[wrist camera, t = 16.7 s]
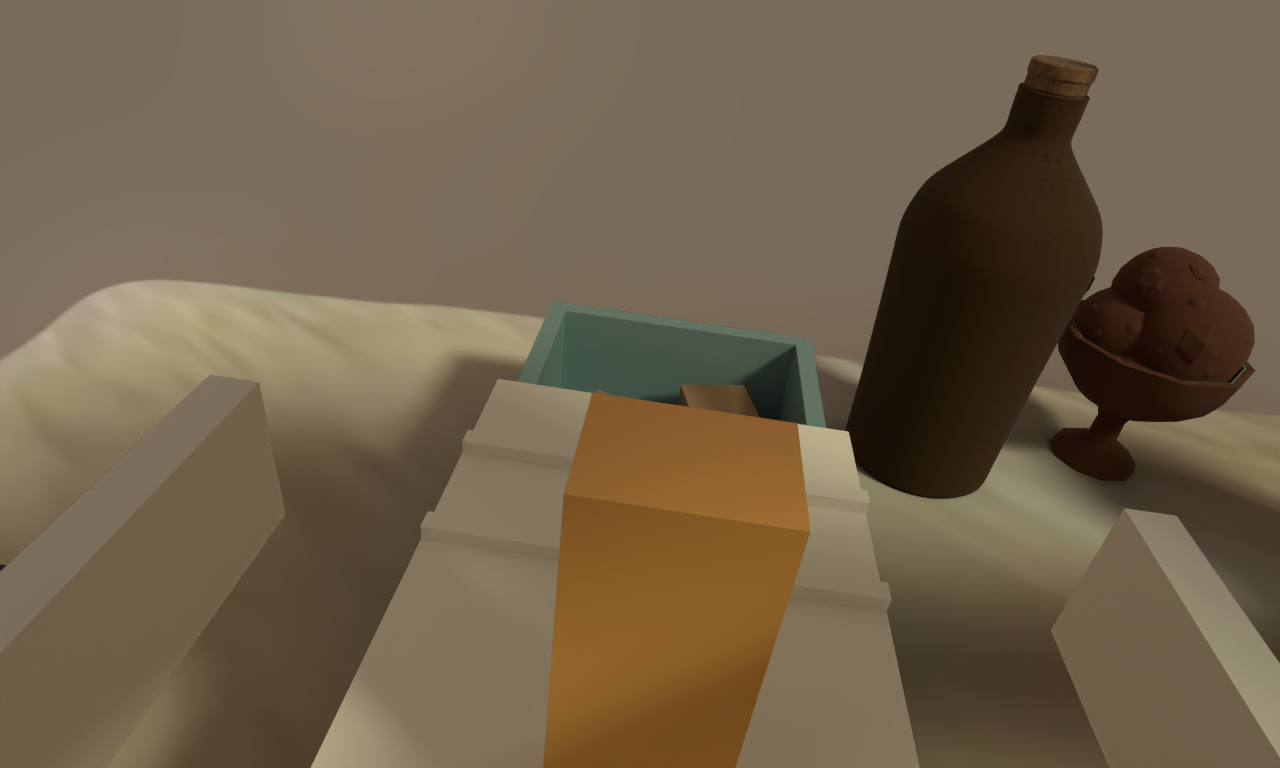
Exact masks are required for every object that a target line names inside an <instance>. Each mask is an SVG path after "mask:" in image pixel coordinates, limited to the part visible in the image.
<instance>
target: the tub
mask: <svg viewBox="0 0 1280 768" xmlns="http://www.w3.org/2000/svg"><path fill="white" fill-rule="evenodd" d="M517 382H523V383H529V384H536V385H542V386H549V387H556V388H562V389H569V390H576V391H582V392H589V393H592V392H593V393H596V392H597V391H598V390H602V391H604V392H607V393H610V394H612V395H615V396H619V397H626V398H633V399H639V400H646V401H653V402H659V403H666V404H673V405H678V399H679V394H680V388H681V385H744V386H745V388H746V390H747V392H748V394H749V396H750V398H751V400H752V403H753V405H754V407H755V409H756V411H757V413H758V415H759V417H760V418H765V419H772V420H779V421H785V422H792V423H798V424H801V425H808V426H815V427H821V428H826V423H825V417H824V412H823V406H822V400H821V394H820V388H819V382H818V377H817V371H816V365H815V359H814V353H813V347H812V342H811V339H806V338H800V337H793V336H786V335H779V334H772V333H766V332H759V331H752V330H745V329H738V328H732V327H724V326H718V325H711V324H704V323H698V322H691V321H684V320H677V319H671V318H664V317H657V316H651V315H644V314H637V313H630V312H623V311H616V310H610V309H603V308H596V307H590V306H583V305H576V304H569V303H563V302H555V301H553V302H552V304H551V306H550V309H549V311H548V313H547V315H546V317H545V320H544V322H543V324H542V327H541V329H540V331H539V333H538V336H537V338H536V340H535V342H534V345H533V347H532V349H531V352H530V354H529V356H528V358H527V361H526V363H525V365H524V367H523V370H522V372H521V374H520V377H519V379H518V381H517Z"/></svg>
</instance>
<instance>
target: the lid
mask: <svg viewBox="0 0 1280 768" xmlns="http://www.w3.org/2000/svg"><path fill="white" fill-rule="evenodd" d="M869 506H870V500H869V495H868V491H867V490H861V488H860V483H859V478H858V473H857V469H856V464H855V459H854V454H853V450H852V445H851V440H850V436H849V432H848V431H841V430H835V429H828V428H821V427H815V426H808V425H801V424H798V423H792V422H785V421H779V420H772V419H765V418H759V417H752V416H746V415H739V414H732V413H726V412H719V411H712V410H706V409H699V408H692V407H686V406H679V405H673V404H666V403H659V402H653V401H646V400H639V399H633V398H626V397H619V396H613V395H606V394H599V393H593V392H592V393H589V392H582V391H576V390H569V389H562V388H556V387H549V386H542V385H536V384H529V383H523V382H516V381H509V380H503V379H498V380H497V382H496V384H495V386H494V388H493V390H492V392H491V394H490V397H489V399H488V401H487V403H486V405H485V407H484V409H483V411H482V413H481V415H480V417H479V419H478V421H477V424H476V426H475V428H474V430H467V432H466V434H465V436H464V439H463V441H462V455H461V457H460V459H459V461H458V463H457V465H456V467H455V469H454V471H453V473H452V475H451V477H450V480H449V482H448V484H447V486H446V488H445V490H444V492H443V494H442V496H441V498H440V500H439V502H438V504H437V507H436V509H435V511H434V512H431V511H428V512H427V514H426V516H425V518H424V520H423V522H422V524H421V526H420V530H421V540H420V542H419V544H418V546H417V548H416V550H415V552H414V554H413V556H412V558H411V561H410V563H409V565H408V567H407V569H406V571H405V573H404V575H403V577H402V579H401V581H400V583H399V585H398V588H397V590H396V592H395V594H394V596H393V598H392V600H391V602H390V604H389V606H388V608H387V610H386V612H385V614H384V617H383V619H382V621H381V623H380V625H379V627H378V629H377V631H376V633H375V635H374V637H373V639H372V641H371V644H370V646H369V648H368V650H367V652H366V654H365V656H364V658H363V660H362V662H361V664H360V666H359V668H358V671H357V673H356V675H355V677H354V679H353V681H352V683H351V685H350V687H349V689H348V691H347V693H346V695H345V698H344V700H343V702H342V704H341V706H340V708H339V710H338V712H337V714H336V716H335V718H334V720H333V722H332V724H331V727H330V729H329V731H328V733H327V735H326V737H325V739H324V741H323V743H322V745H321V747H320V749H319V751H318V754H317V756H316V758H315V760H314V762H313V764H312V766H311V768H920V766H919V762H918V757H917V752H916V748H915V743H914V738H913V733H912V729H911V724H910V719H909V714H908V710H907V705H906V700H905V696H904V691H903V686H902V681H901V677H900V672H899V667H898V662H897V658H896V653H895V648H894V644H893V639H892V634H891V629H890V625H889V620H888V615H887V610H888V607H889V605H890V603H891V600H892V599H891V595H890V590H889V586H888V582H882V581H880V577H879V573H878V568H877V563H876V558H875V554H874V549H873V544H872V540H871V535H870V530H869V525H868V521H867V516H866V514H867V511H868V508H869Z"/></svg>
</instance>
